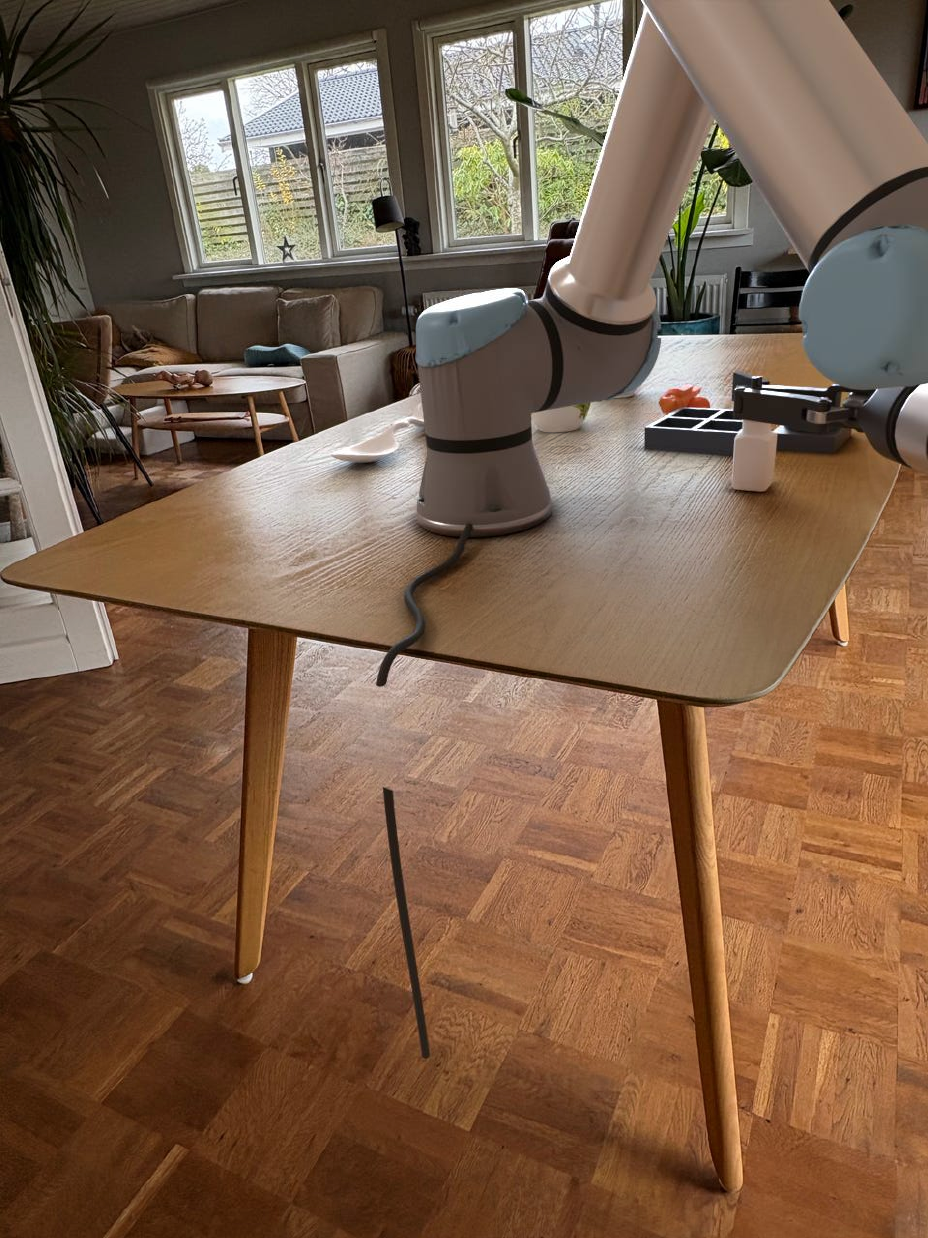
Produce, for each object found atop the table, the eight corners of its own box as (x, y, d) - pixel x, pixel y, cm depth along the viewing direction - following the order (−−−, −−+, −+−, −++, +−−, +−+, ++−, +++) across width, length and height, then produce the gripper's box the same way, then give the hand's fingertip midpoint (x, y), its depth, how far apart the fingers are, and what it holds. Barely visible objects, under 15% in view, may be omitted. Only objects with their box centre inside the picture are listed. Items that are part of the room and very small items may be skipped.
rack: (740, 456, 105) (742, 433, 104) (643, 449, 112) (644, 427, 111) (770, 433, 115) (772, 411, 113) (680, 427, 122) (680, 406, 121)
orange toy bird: (685, 373, 131) (656, 387, 122) (728, 389, 128) (701, 405, 119) (675, 402, 134) (645, 418, 125) (716, 419, 131) (689, 436, 122)
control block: (833, 454, 103) (837, 422, 101) (769, 449, 107) (771, 419, 105) (851, 435, 110) (854, 405, 108) (790, 432, 114) (792, 403, 113)
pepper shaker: (774, 483, 94) (781, 400, 90) (765, 493, 91) (772, 408, 87) (739, 481, 96) (744, 399, 92) (729, 490, 93) (735, 407, 89)
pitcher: (614, 415, 133) (614, 327, 127) (570, 441, 120) (567, 344, 114) (554, 412, 139) (551, 328, 133) (504, 437, 125) (499, 345, 119)
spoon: (467, 421, 138) (465, 400, 137) (375, 473, 112) (371, 448, 111) (420, 420, 142) (418, 400, 140) (320, 471, 116) (316, 447, 115)
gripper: (770, 489, 60) (677, 430, 80) (1089, 453, 61) (922, 404, 81) (778, 386, 57) (679, 351, 76) (1115, 351, 58) (934, 325, 78)
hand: (804, 378), depth 79 cm, fingers open, 13 cm apart
